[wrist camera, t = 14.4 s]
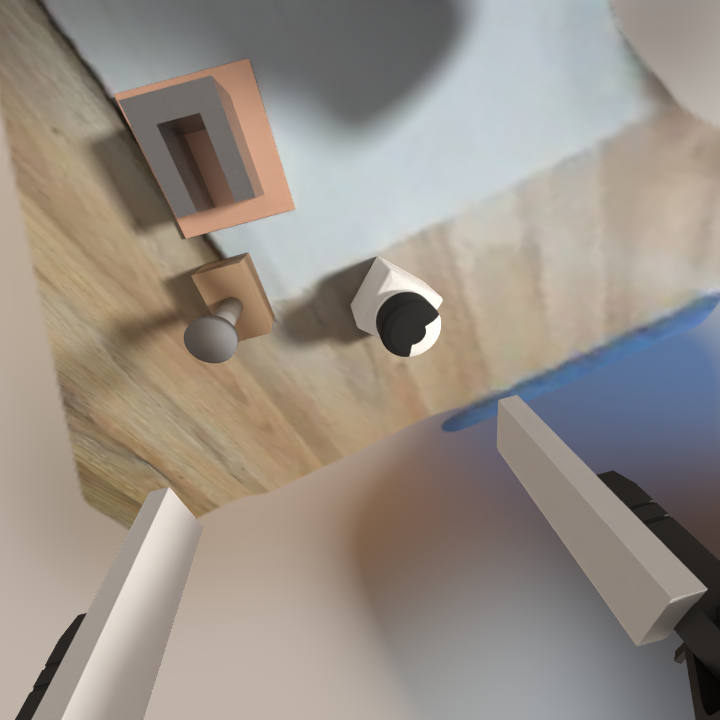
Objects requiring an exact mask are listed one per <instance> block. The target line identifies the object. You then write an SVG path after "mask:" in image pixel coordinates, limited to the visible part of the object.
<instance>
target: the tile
mask: <svg viewBox="0 0 720 720" xmlns="http://www.w3.org/2000/svg"><path fill="white" fill-rule="evenodd" d="M211 75H212V76H213V77H214V78H215V79H216V81H217V82H218V83H219V84H220V85H221V86H222V87H223V88H224V89H225V90H226V91H227V92H228V93H229V95H230V96H231V99H232V102H233V105H234V108H235V111H236V113H237V116H238V119H239V122H240V125H241V128H242V131H243V134H244V136H245V139H246V142H247V145H248V148H249V151H250V154H251V157H252V159H253V162H254V165H255V168H256V171H257V174H258V177H259V180H260V182H261V185H262V188H263V191H264V195H261V196H257V197H254V198H250V199H246V200H242V201H239V202H235V200H234V197H233V195H232V192H231V190H230V187H229V185H228V182H227V180H226V177H225V175H224V172H223V170H222V167H221V165H220V162H219V160H218V157H217V155H216V152H215V150H214V147H213V145H212V142H211V139H210V137H209V134H208V132H207V129H204V130H200V131H196V132H193V133H189V134H185V137H186V140H187V142H188V144H189V147H190V149H191V151H192V154H193V156H194V158H195V160H196V163H197V165H198V167H199V170H200V172H201V174H202V177H203V179H204V181H205V184H206V186H207V188H208V191H209V193H210V195H211V198H212V200H213V202H214V205H215V207H216V208H213V209H209V210H205V211H202V212H198V213H194V214H191V215H187V216H183V217H179V218H177V217H176V215H175V213H174V211H173V209H172V207H171V205H170V203H169V201H168V199H167V197H166V195H165V193H164V191H163V189H162V187H161V185H160V183H159V181H158V179H157V177H156V175H155V173H154V171H153V169H152V167H151V165H150V163H149V161H148V159H147V157H146V155H145V153H144V151H143V149H142V147H141V145H140V143H139V141H138V139H137V137H136V135H135V133H134V131H133V129H132V127H131V125H130V123H129V121H128V119H127V117H126V115H125V113H124V111H123V109H122V107H121V105H120V103H119V101H118V100H121V99H125V98H129V97H132V96H136V95H140V94H144V93H147V92H151V91H155V90H158V89H162V88H166V87H170V86H173V85H177V84H181V83H184V82H188V81H192V80H196V79H199V78H203V77H207V76H211ZM114 96H115V98H116V100H117V102H118V104H119V106H120V108H121V110H122V112H123V114H124V116H125V118H126V120H127V122H128V124H129V126H130V128H131V130H132V132H133V134H134V136H135V138H136V140H137V142H138V144H139V146H140V148H141V150H142V152H143V154H144V156H145V158H146V160H147V162H148V164H149V166H150V168H151V170H152V172H153V174H154V176H155V178H156V180H157V182H158V184H159V186H160V188H161V190H162V192H163V194H164V196H165V198H166V200H167V202H168V204H169V206H170V208H171V210H172V212H173V214H174V216H175V218H176V220H177V222H178V224H179V226H180V228H181V230H182V232H183V234H184V236H185V238H190V237H194V236H197V235H201V234H205V233H209V232H212V231H216V230H220V229H223V228H227V227H231V226H234V225H238V224H242V223H246V222H249V221H253V220H257V219H260V218H264V217H268V216H272V215H275V214H279V213H283V212H286V211H290V210H294V209H295V206H294V203H293V200H292V196H291V193H290V190H289V187H288V183H287V180H286V177H285V174H284V170H283V167H282V164H281V161H280V157H279V154H278V151H277V148H276V144H275V141H274V138H273V134H272V131H271V128H270V125H269V121H268V118H267V115H266V112H265V108H264V105H263V102H262V99H261V95H260V92H259V89H258V86H257V82H256V79H255V76H254V73H253V69H252V66H251V63H250V60H249V58H247V59H243V60H240V61H236V62H232V63H228V64H225V65H221V66H217V67H214V68H210V69H206V70H202V71H199V72H195V73H191V74H187V75H184V76H180V77H176V78H173V79H169V80H165V81H161V82H158V83H154V84H150V85H146V86H143V87H139V88H135V89H132V90H128V91H124V92H120V93H117V94H114Z"/></svg>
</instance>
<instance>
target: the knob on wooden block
mask: <svg viewBox="0 0 720 720" xmlns="http://www.w3.org/2000/svg"><path fill="white" fill-rule="evenodd" d="M191 277H192V278H193V280H194V282H195V284H196V286H197V288H198V290H199V292H200V294H201V296H202V297H203V299H204V301H205V303H206V305H207V307H208V309H209V311H210V313H211V315H203V316H200V317H198V318H196V319H195V320H194V321H192V323H191V324H190V325H189V326H188V327H187V329H186V331H185V333H184V343H185V346H186V348H187V349H188V351H189V352H190V353H191V354H192V355H193V356H194V357H196V358H197V359H199V360H201V361H204V362H208V363H221V362H224V361H226V360H228V359H230V358H231V357H232V356H233V354H234V353H235V351H236V348H237V346H238V343H239V341H242V340H246V339H249V338H253V337H257V336H260V335H264V334H268V333H270V332H271V328H272V324H273V320H274V317H275V316H274V313H273V311H272V308H271V306H270V304H269V301H268V299H267V296H266V294H265V291H264V289H263V286H262V284H261V282H260V279H259V277H258V274H257V272H256V269H255V267H254V264H253V262H252V260H251V257H250V255H249V252H248V253H245V254H241V255H237V256H234V257H230V258H226V259H222V260H219V261H215V262H211V263H208V264H205V265H204V266H203V267H201V268H200V269H199V270H198V271H196V272H195V273H194V274H192V275H191Z"/></svg>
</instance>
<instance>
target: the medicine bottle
mask: <svg viewBox="0 0 720 720" xmlns="http://www.w3.org/2000/svg"><path fill="white" fill-rule="evenodd" d="M441 303H442V298H441V297H440V296H439V295H438V294H437V293H436V292H435V291H434V290H432V289H431V288H430V287H429V286H428V285H427V284H426V283H425V282H423V281H422V280H420V279H419V278H417V277H415V276H413V275H411V274H410V273H408V272H406V271H404V270H403V269H401V268H399V267H397V266H395V265H394V264H392V263H390V262H388V261H387V260H385V259H383V258H381V257H379V256H378V257H376V259H375V261H374V262H373V264H372V266H371V268H370V270H369V272H368V273H367V275H366V277H365V279H364V281H363V283H362V284H361V286H360V288H359V290H358V292H357V294H356V296H355V297H354V299H353V301H352V303H351V305H350V306H351V309H352V312H353V315H354V318H355V321H356V324H357V327H358V328H359V329H361V330H363V331H365V332H368V333H370V334H372V335H374V336H376V337H379V338H381V340H382V342H383V344H384V346H385V347H386V349H387V350H389V351H390V352H391V353H393V354H395V355H397V356H402V357H411V356H416V355H419V354H421V353H423V352H425V351H426V350H428V349H429V348H430V347H431V346H432V345H433V344H434V343H435V341H436V340H437V338H438V336H439V333H440V330H441V319H440V315H439V313H438V311H437V308H438V307H439V306H440V304H441Z"/></svg>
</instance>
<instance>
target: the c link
mask: <svg viewBox="0 0 720 720" xmlns="http://www.w3.org/2000/svg"><path fill="white" fill-rule="evenodd" d="M118 101H119V103H120V105H121V107H122V109H123V111H124V113H125V115H126V117H127V119H128V121H129V123H130V125H131V127H132V129H133V131H134V133H135V135H136V137H137V139H138V141H139V143H140V145H141V147H142V149H143V151H144V153H145V155H146V157H147V159H148V161H149V163H150V165H151V167H152V169H153V171H154V173H155V175H156V177H157V179H158V181H159V183H160V185H161V187H162V189H163V191H164V193H165V195H166V197H167V199H168V201H169V203H170V205H171V207H172V209H173V211H174V213H175V215H176V217H177V218H179V217H183V216H187V215H191V214H194V213H198V212H202V211H205V210H209V209H213V208H216V207H215V205H214V202H213V200H212V198H211V195H210V193H209V191H208V188H207V186H206V184H205V181H204V179H203V177H202V174H201V172H200V170H199V167H198V165H197V163H196V160H195V158H194V156H193V154H192V151H191V149H190V147H189V144H188V142H187V140H186V137H185V134H189V133H193V132H196V131H200V130H204V129H207V132H208V134H209V137H210V139H211V142H212V145H213V147H214V150H215V152H216V155H217V157H218V160H219V162H220V165H221V167H222V170H223V172H224V175H225V177H226V180H227V182H228V185H229V187H230V190H231V192H232V195H233V197H234V200H235V202H239V201H242V200H246V199H250V198H254V197H257V196H261V195H264V191H263V188H262V185H261V182H260V180H259V177H258V174H257V171H256V168H255V165H254V162H253V159H252V157H251V154H250V151H249V148H248V145H247V142H246V139H245V136H244V134H243V131H242V128H241V125H240V122H239V119H238V116H237V113H236V111H235V108H234V105H233V102H232V99H231V96H230V95H229V93H228V92H227V91H226V90H225V89H224V88H223V87H222V86H221V85H220V84H219V83H218V82H217V81H216V79H215V78H214V77H213V76H212V75H211V76H207V77H203V78H199V79H196V80H192V81H188V82H184V83H181V84H177V85H173V86H170V87H166V88H162V89H158V90H155V91H151V92H147V93H144V94H140V95H136V96H132V97H129V98H125V99H121V100H118Z"/></svg>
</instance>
